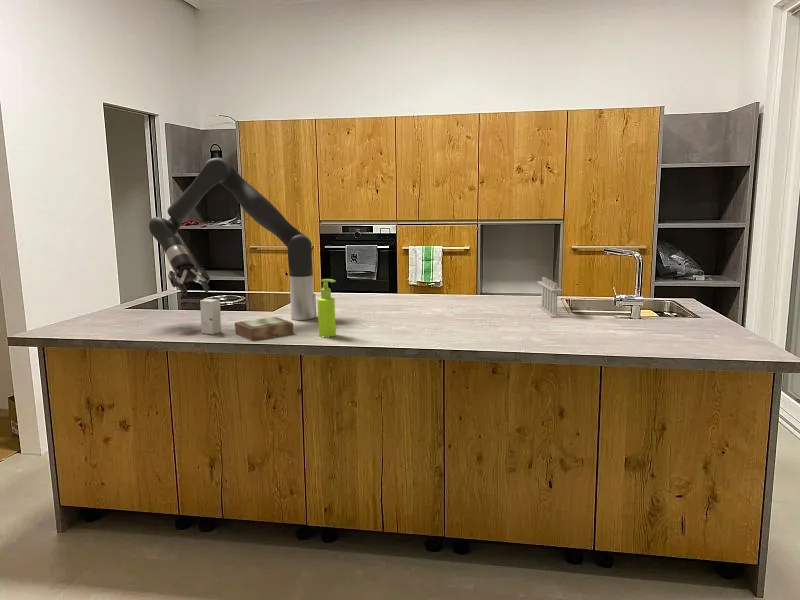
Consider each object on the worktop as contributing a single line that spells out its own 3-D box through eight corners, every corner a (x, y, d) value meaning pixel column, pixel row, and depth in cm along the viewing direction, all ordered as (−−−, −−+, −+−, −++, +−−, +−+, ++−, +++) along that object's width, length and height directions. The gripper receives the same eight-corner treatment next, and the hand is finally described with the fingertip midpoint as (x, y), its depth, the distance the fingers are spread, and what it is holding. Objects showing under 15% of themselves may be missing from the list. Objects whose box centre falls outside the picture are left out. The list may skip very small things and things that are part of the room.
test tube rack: (562, 317, 241) (563, 284, 238) (550, 318, 241) (551, 284, 238) (546, 306, 265) (547, 276, 263) (536, 306, 265) (537, 276, 263)
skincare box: (201, 333, 223) (198, 300, 221) (210, 330, 227) (208, 298, 225) (213, 334, 220) (211, 301, 218) (222, 332, 224) (220, 299, 222)
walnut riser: (276, 327, 231) (275, 315, 230) (293, 333, 220) (292, 321, 219) (235, 333, 221) (234, 321, 220) (251, 340, 210) (250, 327, 209)
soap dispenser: (331, 338, 211) (329, 280, 208) (315, 336, 215) (313, 279, 211) (341, 335, 216) (339, 278, 213) (325, 333, 220) (323, 277, 216)
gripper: (164, 254, 225) (181, 288, 219) (200, 251, 235) (217, 283, 230) (158, 267, 230) (175, 301, 224) (194, 264, 240) (211, 296, 234)
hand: (197, 292), depth 227 cm, fingers open, 8 cm apart
